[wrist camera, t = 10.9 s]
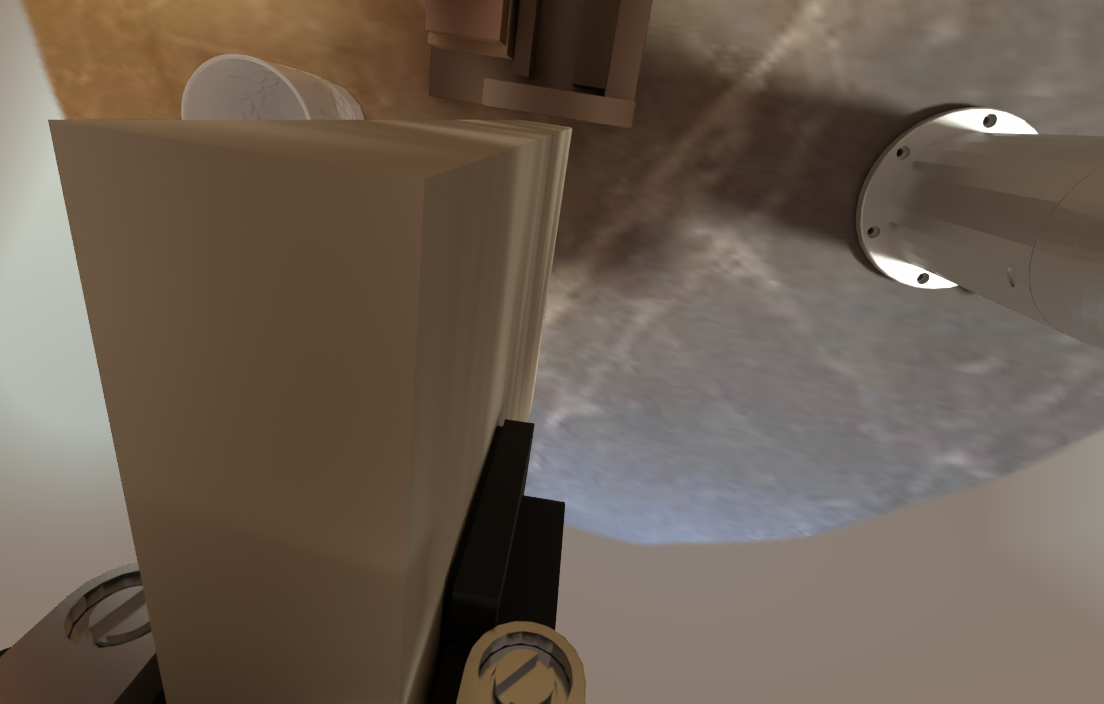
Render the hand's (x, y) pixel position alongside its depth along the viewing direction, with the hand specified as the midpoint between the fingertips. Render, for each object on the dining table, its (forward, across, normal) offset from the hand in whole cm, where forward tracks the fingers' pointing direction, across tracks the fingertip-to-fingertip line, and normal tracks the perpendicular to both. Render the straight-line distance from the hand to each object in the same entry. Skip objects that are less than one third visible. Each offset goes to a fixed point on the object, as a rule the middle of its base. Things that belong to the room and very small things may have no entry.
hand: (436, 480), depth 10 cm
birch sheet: (+15, 0, 0) cm, 15 cm away
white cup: (+35, +18, -3) cm, 40 cm away
